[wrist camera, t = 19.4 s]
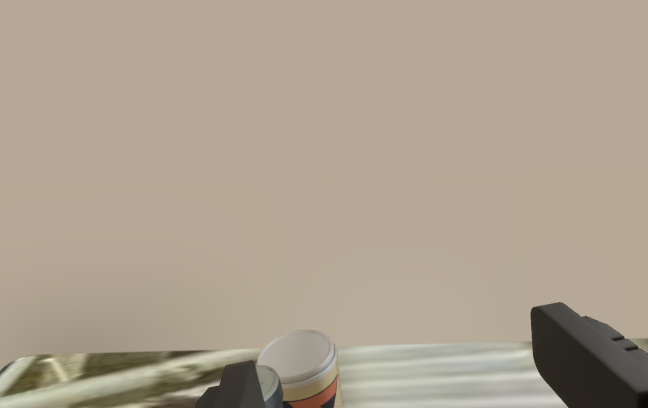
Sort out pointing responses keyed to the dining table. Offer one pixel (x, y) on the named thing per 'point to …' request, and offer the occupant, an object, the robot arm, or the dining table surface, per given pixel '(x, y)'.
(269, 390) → the sauce bottle
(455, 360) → the dining table surface
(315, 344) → the coffee cup
